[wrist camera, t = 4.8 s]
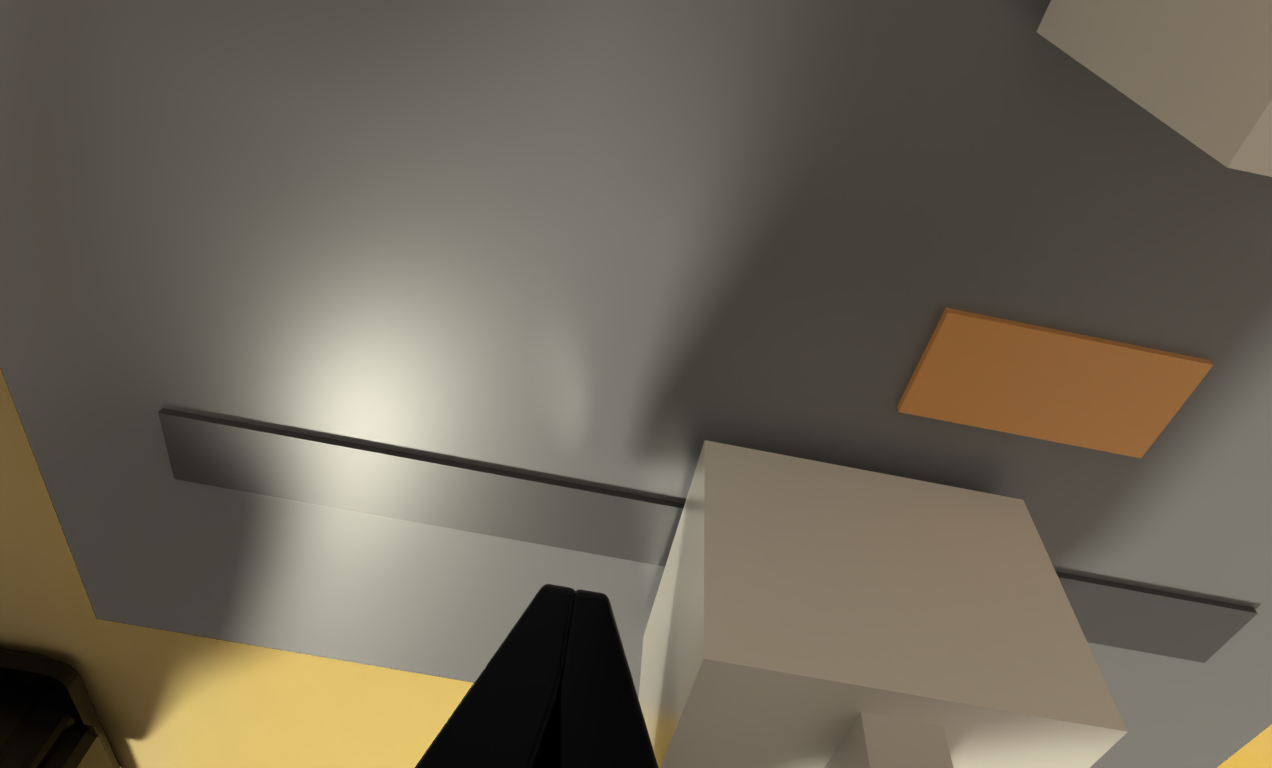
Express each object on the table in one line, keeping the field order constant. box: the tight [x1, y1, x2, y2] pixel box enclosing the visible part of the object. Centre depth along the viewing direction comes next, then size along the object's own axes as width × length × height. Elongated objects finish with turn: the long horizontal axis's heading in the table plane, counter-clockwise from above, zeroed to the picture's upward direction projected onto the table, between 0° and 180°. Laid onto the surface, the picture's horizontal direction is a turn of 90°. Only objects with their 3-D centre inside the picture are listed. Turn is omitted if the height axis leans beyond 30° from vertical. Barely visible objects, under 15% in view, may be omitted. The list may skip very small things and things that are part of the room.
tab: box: [639, 440, 1128, 768], centre depth 9 cm, size 4×4×4 cm
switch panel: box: [0, 0, 1272, 768], centre depth 9 cm, size 19×18×3 cm
